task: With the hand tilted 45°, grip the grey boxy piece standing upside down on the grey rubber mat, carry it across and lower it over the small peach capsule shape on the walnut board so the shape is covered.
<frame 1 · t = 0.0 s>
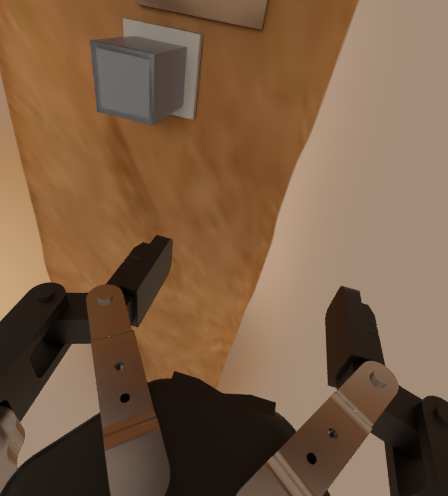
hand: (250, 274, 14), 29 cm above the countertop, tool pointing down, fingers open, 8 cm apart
rubber mat: (163, 71, 37), on the countertop
grey boxy piece: (160, 72, 36), point 1 cm above the countertop, touching rubber mat
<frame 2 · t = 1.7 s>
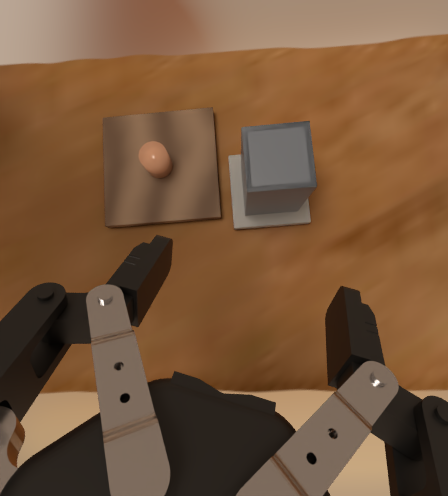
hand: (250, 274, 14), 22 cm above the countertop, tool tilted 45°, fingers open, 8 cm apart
peach capsule shape: (159, 165, 37), resting on walnut board
rubber mat: (268, 190, 37), on the countertop
walnut board: (161, 168, 38), on the countertop
grey boxy piece: (268, 188, 36), point 1 cm above the countertop, touching rubber mat
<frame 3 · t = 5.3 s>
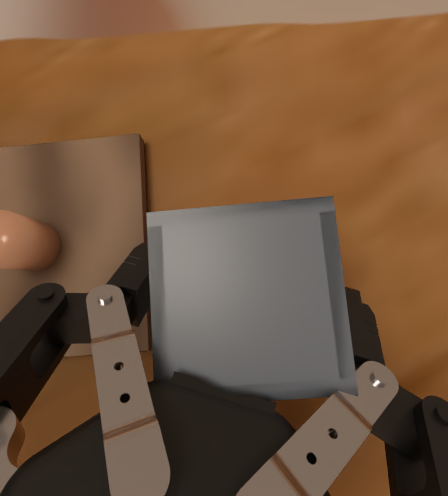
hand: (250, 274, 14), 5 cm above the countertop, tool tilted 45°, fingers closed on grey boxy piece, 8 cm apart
peach capsule shape: (36, 246, 20), resting on walnut board
walnut board: (46, 248, 21), on the countertop
grey boxy piece: (243, 293, 19), point 1 cm above the countertop, touching gripper, rubber mat
when the fingers open (7 cm above the countertop, at t = 11.8 s): grey boxy piece drops 1 cm, point 1 cm above the countertop.
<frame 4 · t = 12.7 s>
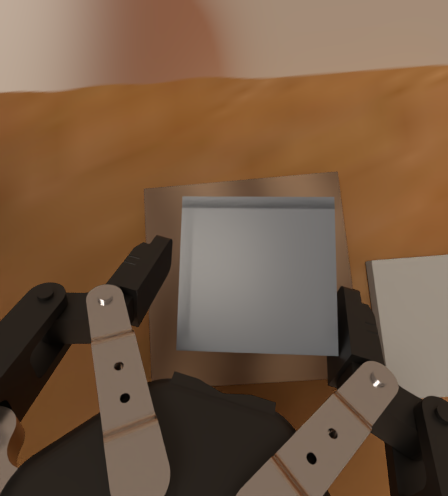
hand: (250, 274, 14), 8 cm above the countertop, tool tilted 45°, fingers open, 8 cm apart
rubber mat: (440, 321, 21), on the countertop
walnut board: (247, 277, 22), on the countertop
grey boxy piece: (250, 279, 21), point 1 cm above the countertop, touching gripper
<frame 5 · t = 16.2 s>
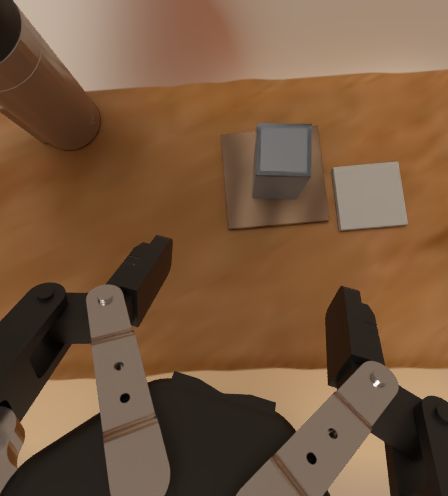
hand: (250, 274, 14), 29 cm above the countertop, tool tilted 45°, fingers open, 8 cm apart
rubber mat: (367, 197, 43), on the countertop
walnut board: (272, 178, 44), on the countertop
grey boxy piece: (274, 177, 43), point 1 cm above the countertop, touching walnut board
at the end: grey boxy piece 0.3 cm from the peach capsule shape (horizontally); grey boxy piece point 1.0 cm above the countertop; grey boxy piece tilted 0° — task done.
